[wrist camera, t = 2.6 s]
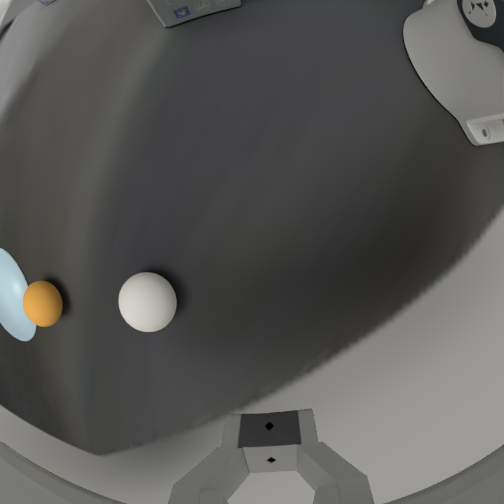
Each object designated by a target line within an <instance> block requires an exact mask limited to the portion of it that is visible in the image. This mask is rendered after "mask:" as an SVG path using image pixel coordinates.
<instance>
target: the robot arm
mask: <svg viewBox="0 0 504 504" xmlns="http://www.w3.org/2000/svg"><path fill="white" fill-rule="evenodd" d="M403 35H404V42H405V46H406V49H407V52H408V55H409V57H410V59H411V62H412V64H413V66H414V68H415V69H416V71H417V73H418V75H419V76H420V78H421V79H422V81H423V82H424V84H425V85H426V87H427V88H428V89H429V91H430V92H431V93H432V94H433V95H434V97H435V98H436V99H437V100H438V101H439V102H440V103H441V104H442V105H443V106H444V107H445V108H446V109H447V110H448V111H449V112H450V113H451V114H452V115H453V116H454V117H455V118H456V119H457V120H458V121H459V123H460V125H461V127H462V128H463V130H464V132H465V134H466V135H467V137H468V139H469V140H470V142H471V143H472V144H473V145H475V146H480V145H487V144H493V143H499V142H504V0H426V1H425V2H424V5H423V8H422V9H420V10H418V11H416V12H414V13H412V14H411V15H410V16H409V17H408V18H407V19H406V21H405V23H404V28H403ZM293 470H297V472H298V473H299V474H300V475H301V476H302V477H303V478H304V479H305V481H306V482H307V483H308V484H309V485H310V486H311V487H312V488H313V489H314V490H315V496H314V502H313V504H374V501H373V497H372V493H371V489H370V485H369V482H368V478H367V476H366V475H364V474H363V473H362V472H360V471H359V470H358V469H357V468H355V467H354V466H352V465H351V464H350V463H349V462H347V461H346V460H345V459H343V458H342V457H341V456H340V455H338V454H337V453H336V452H335V451H333V450H332V449H331V448H330V447H328V446H327V445H326V444H325V443H323V442H318V438H317V432H316V426H315V421H314V415H313V410H312V409H304V410H298V411H297V410H294V411H285V412H274V413H263V414H228V415H227V417H226V422H225V428H224V434H223V440H222V445H221V448H216V449H215V450H214V451H213V452H212V453H211V454H209V455H208V456H207V457H206V458H205V459H204V460H203V461H201V462H200V463H199V464H198V465H197V466H196V467H194V469H192V470H191V471H190V472H188V473H187V474H186V475H185V476H184V477H183V478H181V479H180V480H179V481H177V482H176V483H175V484H174V485H173V488H172V492H171V495H170V498H169V502H168V504H228V503H227V500H228V499H229V498H230V497H231V495H232V494H233V493H234V492H235V491H236V490H237V489H238V487H239V486H240V485H241V483H243V481H244V480H245V479H246V478H247V476H248V475H249V473H258V472H275V471H293ZM0 504H125V503H122V502H119V501H116V500H113V499H110V498H107V497H104V496H102V495H99V494H97V493H94V492H92V491H89V490H87V489H84V488H82V487H80V486H78V485H75V484H73V483H71V482H69V481H67V480H64V479H63V478H61V477H59V476H57V475H55V474H53V473H51V472H49V471H47V470H45V469H44V468H42V467H40V466H38V465H37V464H35V463H33V462H32V461H30V460H28V459H27V458H25V457H23V456H22V455H20V454H19V453H17V452H16V451H14V450H13V449H12V448H10V447H9V446H7V445H6V444H4V443H2V442H0ZM384 504H504V445H502V446H501V447H499V448H498V449H497V450H495V451H494V452H492V453H491V454H489V455H488V456H486V457H484V458H483V459H481V460H480V461H478V462H476V463H475V464H473V465H471V466H470V467H468V468H466V469H464V470H463V471H461V472H459V473H457V474H455V475H453V476H451V477H449V478H447V479H445V480H443V481H441V482H439V483H437V484H435V485H432V486H430V487H428V488H425V489H423V490H421V491H418V492H416V493H413V494H411V495H408V496H405V497H402V498H400V499H397V500H394V501H391V502H388V503H384Z"/></svg>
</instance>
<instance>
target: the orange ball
mask: <svg viewBox="0 0 504 504" xmlns="http://www.w3.org/2000/svg"><path fill="white" fill-rule="evenodd" d="M23 308H24V311H25V314H26V315H27V317H28V318H29V320H30V321H31V322H33V323H34V324H36V325H38V326H42V327H46V326H50V325H52V324H54V323H55V322H56V321H57V320H58V319H59V317H60V315H61V312H62V298H61V295H60V293H59V291H58V290H57V288H56V287H55V286H54V285H52V284H51V283H49V282H47V281H36V282H34V283H32V284H30V285H29V286H28V288H27V289H26V291H25V293H24V296H23Z"/></svg>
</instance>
